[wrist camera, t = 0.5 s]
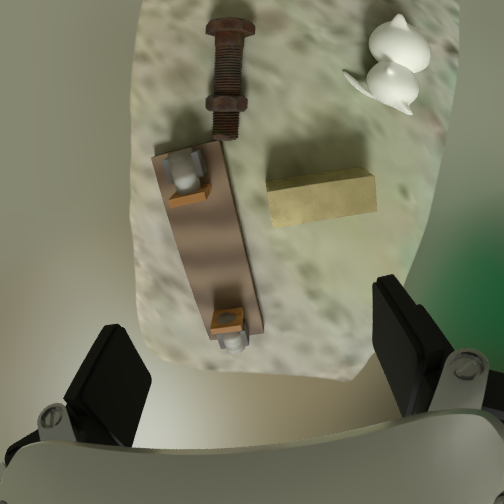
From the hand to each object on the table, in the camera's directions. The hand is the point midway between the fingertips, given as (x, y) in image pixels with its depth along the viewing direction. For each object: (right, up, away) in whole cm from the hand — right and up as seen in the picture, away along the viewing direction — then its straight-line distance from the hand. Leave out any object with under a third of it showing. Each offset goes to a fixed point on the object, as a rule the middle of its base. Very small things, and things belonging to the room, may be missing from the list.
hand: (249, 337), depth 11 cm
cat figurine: (+17, +28, +22) cm, 39 cm away
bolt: (-3, +24, +24) cm, 34 cm away
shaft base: (-5, +3, +33) cm, 34 cm away
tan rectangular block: (+9, +11, +30) cm, 33 cm away
